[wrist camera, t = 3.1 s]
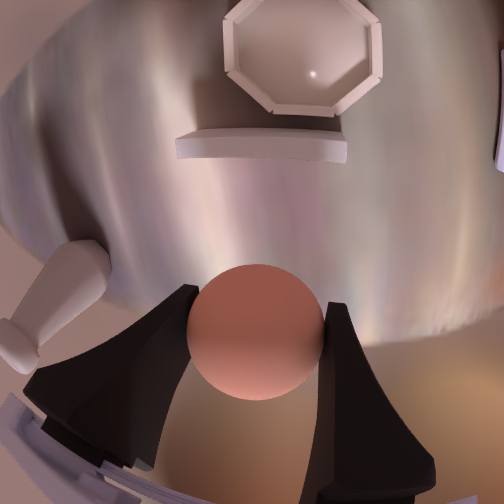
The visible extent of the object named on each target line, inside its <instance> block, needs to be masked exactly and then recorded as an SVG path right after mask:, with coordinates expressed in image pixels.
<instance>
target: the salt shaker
mask: <svg viewBox="0 0 504 504" xmlns="http://www.w3.org/2000/svg"><path fill="white" fill-rule="evenodd" d="M111 272H112V267H111V263H110V259H109V254H108V253H107V252H106V251H105V250H104V249H103V248H102V247H101V246H100V245H99V244H98V243H97V242H96V241H95V240H78V241H70V242H68V243H65V244H63V245H61V246H59V248H58V249H57V250H56V251H55V253H54V254H53V255H52V257H51V258H50V259H49V261H48V262H47V264H46V265H45V266H44V268H43V269H42V271H41V272H40V274H39V275H38V276H37V278H36V279H35V281H34V282H33V284H32V285H31V287H30V288H29V290H28V292H27V293H26V294H25V296H24V298H23V299H22V301H21V303H20V304H19V306H18V307H17V309H16V311H15V312H14V314H13V316H12V317H11V319H10V321H9V320H8V319H6V318H3V319H0V355H1V356H2V357H3V358H4V359H5V360H6V362H7V363H8V364H9V365H10V366H12V367H13V368H14V369H15V370H16V371H18V372H20V373H22V374H29V373H30V372H31V371H32V370H33V369H34V368H35V366H36V364H37V363H38V360H39V357H40V356H39V354H38V351H37V349H38V348H39V347H40V346H41V345H42V344H44V343H45V342H46V341H47V340H48V339H49V338H50V337H51V336H53V335H54V334H55V333H56V332H57V331H58V330H60V329H61V328H62V327H63V326H65V325H66V324H67V323H68V322H70V321H71V320H72V319H73V318H75V317H76V316H77V315H78V314H79V313H81V312H82V311H83V310H85V309H86V308H87V307H88V306H90V305H91V304H92V303H94V302H95V301H96V300H98V299H99V298H100V297H101V296H102V294H103V293H104V292H105V290H106V288H107V286H108V282H109V279H110V275H111Z"/></svg>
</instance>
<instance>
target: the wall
mask: <svg viewBox="0 0 504 504" xmlns="http://www.w3.org/2000/svg"><path fill="white" fill-rule="evenodd" d="M175 142H176V151H177V159H179V158H217V157H239V158H277V159H297V160H312V161H324V162H336V163H346V154H347V140H346V139H345V137H344V135H343V133H342V132H336V131H324V130H310V129H291V128H218V129H199V130H196V131H194V132H191V133H189V134H187V135H184V136H182V137H180V138H177V139H175Z"/></svg>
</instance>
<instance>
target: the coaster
mask: <svg viewBox="0 0 504 504" xmlns="http://www.w3.org/2000/svg"><path fill="white" fill-rule="evenodd" d="M224 18H226V19H227V20H223V42H224V65H225V72H229V73H228V74H227V76H228V77H230V78H231V79H232V80H233V81H234V82H236V83H237V84H238V85H239V86H240V87H241V88H243V89H244V90H245V91H246V92H247V93H248V94H249V95H251V96H252V97H253V98H254V99H255V100H256V101H257V102H258V103H259V104H261V105H262V106H263V107H264V108H265V109H266V110H267V111H268V112H269V113H270V112H272V111H273V114H286V115H309V116H324V117H334V113H335V114H336V115H337V116H339V115H340V114H341V113H342V112H343V111H345V110H346V109H347V108H348V107H349V106H351V105H352V104H353V103H354V102H355V101H357V100H358V99H359V98H360V97H361V96H363V95H364V94H365V93H366V92H368V91H369V90H370V89H371V88H373V87H374V86H375V85H376V84H378V83H379V82H380V81H381V80H380V79H379V78H382V77H383V64H382V32H381V24H380V23H377V22H378V21H379V20H378V19H377V18H376V17H375V16H374V15H373V14H372V13H371V12H370V11H369V10H368V9H367V8H366V7H364V6H363V5H362V4H361V3H360V2H359V1H358V0H242V1H240V2H239V3H238V4H237V5H236V6H235V7H234V8H233V9H232V10H231V11H230V12H229V13H228V14H227V15H226V16H225V17H224Z"/></svg>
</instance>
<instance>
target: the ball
mask: <svg viewBox="0 0 504 504" xmlns="http://www.w3.org/2000/svg"><path fill="white" fill-rule="evenodd" d="M324 340H325V323H324V318H323V314H322V310H321V308H320V306H319V303H318V301H317V299H316V297H315V296H314V294H313V293H312V292H311V290H310V289H309V288H308V287H307V286H306V285H305V284H304V283H303V282H302V281H301V280H300V279H298V278H297V277H295V276H294V275H292V274H291V273H289V272H287V271H285V270H283V269H280V268H277V267H273V266H269V265H261V264H253V265H243V266H238V267H235V268H232V269H230V270H227V271H225V272H223V273H221V274H220V275H218V276H217V277H215V278H214V279H212V280H211V281H210V282H209V283H208V284H207V285H206V286H205V287H204V288H203V289H202V290H201V292H200V293H199V294H198V296H197V297H196V299H195V301H194V303H193V305H192V308H191V310H190V313H189V317H188V322H187V343H188V348H189V351H190V355H191V357H192V360H193V362H194V363H195V365H196V367H197V369H198V370H199V372H200V373H201V374H202V375H203V377H204V378H205V379H206V380H207V381H208V382H209V383H211V384H212V385H213V386H214V387H216V388H217V389H219V390H220V391H222V392H224V393H226V394H229V395H231V396H234V397H238V398H242V399H248V400H264V399H270V398H275V397H278V396H280V395H283V394H285V393H287V392H289V391H291V390H293V389H294V388H296V387H297V386H298V385H300V384H301V383H302V382H303V381H304V380H305V379H306V378H307V377H308V376H309V375H310V374H311V372H312V371H313V369H314V368H315V367H316V365H317V363H318V361H319V359H320V356H321V353H322V350H323V347H324Z"/></svg>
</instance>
